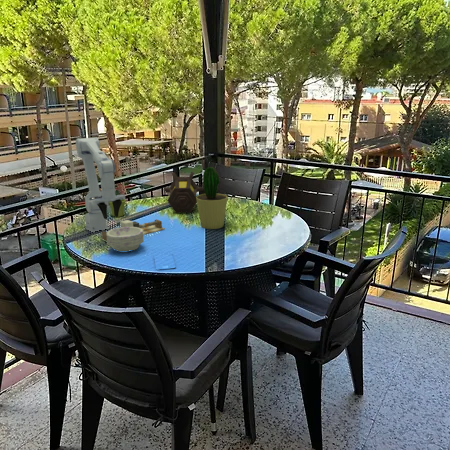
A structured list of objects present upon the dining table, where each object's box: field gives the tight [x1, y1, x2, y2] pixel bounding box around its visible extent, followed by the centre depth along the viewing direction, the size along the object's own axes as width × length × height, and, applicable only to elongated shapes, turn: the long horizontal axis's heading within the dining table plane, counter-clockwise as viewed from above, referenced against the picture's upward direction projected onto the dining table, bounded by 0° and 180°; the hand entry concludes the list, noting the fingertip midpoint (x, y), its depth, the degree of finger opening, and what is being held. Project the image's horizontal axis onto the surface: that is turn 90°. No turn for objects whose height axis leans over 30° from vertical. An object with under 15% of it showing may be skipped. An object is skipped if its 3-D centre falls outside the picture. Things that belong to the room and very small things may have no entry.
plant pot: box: [108, 198, 127, 218], centre depth 226 cm, size 9×9×9 cm
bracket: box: [132, 220, 140, 228], centre depth 196 cm, size 2×4×4 cm, turn 41°
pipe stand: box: [101, 219, 166, 241], centre depth 196 cm, size 30×8×4 cm, turn 131°
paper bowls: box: [106, 226, 145, 251], centre depth 177 cm, size 15×15×8 cm
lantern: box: [163, 171, 204, 214], centre depth 239 cm, size 21×23×30 cm
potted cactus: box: [196, 166, 228, 230], centre depth 204 cm, size 15×15×30 cm
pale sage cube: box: [119, 219, 134, 228], centre depth 193 cm, size 4×5×6 cm
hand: (110, 217), depth 187 cm, fingers open, 5 cm apart
